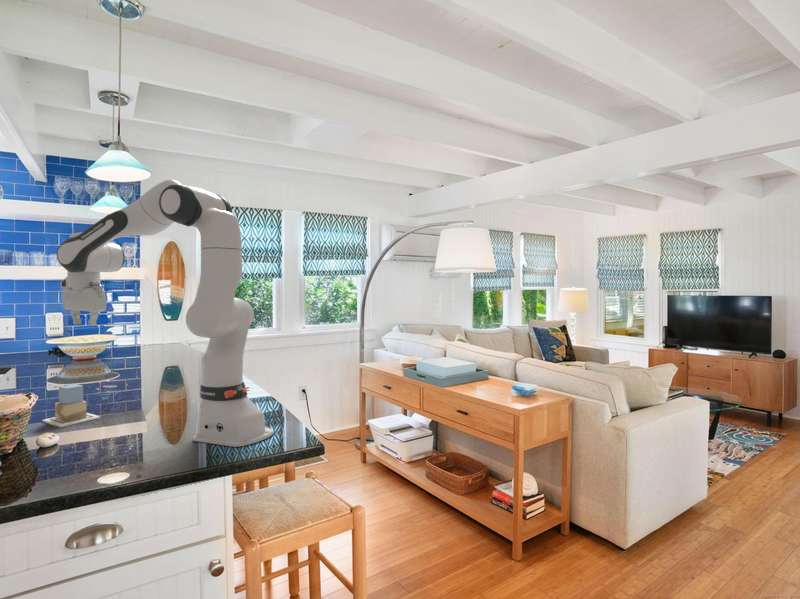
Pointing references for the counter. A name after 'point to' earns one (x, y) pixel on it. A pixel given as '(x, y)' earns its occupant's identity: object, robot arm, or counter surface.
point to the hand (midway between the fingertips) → (84, 324)
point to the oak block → (70, 411)
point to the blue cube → (71, 394)
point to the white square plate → (62, 424)
